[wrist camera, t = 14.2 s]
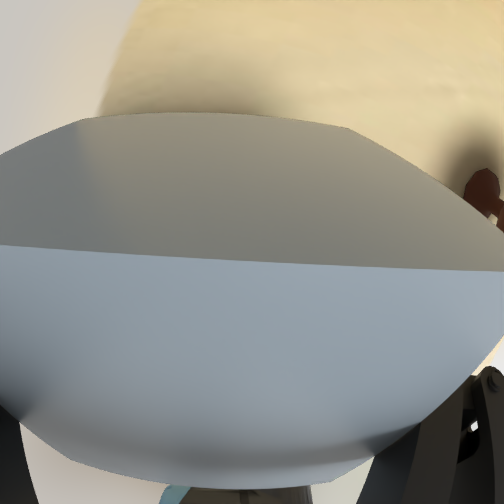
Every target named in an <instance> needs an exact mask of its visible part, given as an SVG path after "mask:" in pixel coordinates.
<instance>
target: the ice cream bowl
mask: <svg viewBox="0 0 504 504" xmlns="http://www.w3.org/2000/svg"><path fill="white" fill-rule="evenodd" d="M499 195H500V186H499V181H498V178H497V177H496V175H495V174H493V173H492V172H491V171H490V170H489V169H487V168H486V169H483V170H480V171H477V172H475V174H474V175H473V177H472V178H471V179H470V181H469V182H468V183H467V185H466V188H465V193H464V197H463V200H465V201H466V202H467V203H469V204H470V205H471V206H472V207H474V208H475V209H476V210H477V211H479V212H480V213H481V214H482V215H484V216H485V217H486V218H488V217H489V216H490V214H491V213H492V214H493V215H495V216H496V217H497V218H498V221H497V224H496V227H498V228H499V229H500V230H501V231H502V232H503V233H504V201H502V200H501V199H500V198H499Z"/></svg>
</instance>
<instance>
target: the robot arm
mask: <svg viewBox="0 0 504 504" xmlns="http://www.w3.org/2000/svg"><path fill="white" fill-rule="evenodd" d="M476 421H477V423H478V428H477V429H476V430H475V431H472V430H471V425H472V424H473V423H474V422H476ZM0 504H39V503H38V499H37V496H36V494H35V491H34V487H33V484H32V481H31V477H30V473H29V469H28V465H27V461H26V457H25V452H24V447H23V442H22V436H21V431H20V424H19V421H18V420H17V419H15V418H14V417H13V416H12V415H11V414H10V413H9V412H8V411H7V410H5V409H4V408H3V407H2V406H1V405H0ZM159 504H313V502H312V494H311V487H310V485H305V486H296V487H286V488H271V489H214V488H199V487H189V486H180V485H172V484H170V485H169V486H167V487H166V489H165V490H164V492H163V494H162V496H161V499H160V502H159ZM356 504H504V376H503V375H502V373H501V372H500V371H499V370H498V369H496V368H495V367H492V366H487V367H485V368H484V369H483V370H482V371H481V372H480V373H479V374H478V375H477V376H474V375H470V376H469V377H468V378H467V379H466V380H465V381H464V382H463V383H462V384H461V385H460V386H459V387H458V388H457V389H456V390H455V391H454V392H453V393H452V394H451V395H450V396H449V397H448V398H447V399H446V400H445V401H444V402H443V403H442V404H441V405H440V406H438V407H437V408H436V409H435V410H434V411H433V412H432V413H431V414H429V415H428V416H427V417H426V418H425V419H424V420H422V421H421V422H420V423H419V424H417V425H416V426H415V427H414V428H412V429H411V430H410V431H409V432H407V433H406V434H405V435H403V436H402V437H401V438H399V439H398V440H397V441H395V442H394V443H393V444H391V445H390V446H388V447H387V448H385V449H384V450H383V451H381V452H380V453H378V454H377V455H375V457H374V459H373V462H372V465H371V468H370V471H369V473H368V476H367V479H366V482H365V484H364V486H363V489H362V491H361V494H360V496H359V498H358V501H357V503H356Z"/></svg>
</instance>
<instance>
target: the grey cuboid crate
mask: <svg viewBox="0 0 504 504" xmlns="http://www.w3.org/2000/svg"><path fill="white" fill-rule="evenodd" d="M503 335H504V233H503V232H502V231H501V230H500V229H499V228H498V227H496V226H495V225H494V224H493V223H492V222H491V221H490V220H488V219H487V218H486V217H485V216H484V215H482V214H481V213H480V212H479V211H477V210H476V209H475V208H474V207H472V206H471V205H470V204H469V203H467V202H466V201H465V200H463V199H462V198H461V197H459V196H458V195H457V194H455V193H454V192H453V191H451V190H450V189H449V188H447V187H446V186H444V185H443V184H442V183H440V182H439V181H437V180H436V179H434V178H433V177H431V176H430V175H428V174H427V173H425V172H424V171H422V170H421V169H419V168H418V167H416V166H414V165H413V164H411V163H410V162H408V161H406V160H405V159H403V158H401V157H400V156H398V155H396V154H395V153H393V152H391V151H390V150H388V149H386V148H384V147H383V146H381V145H379V144H377V143H375V142H374V141H372V140H370V139H368V138H366V137H364V136H362V135H360V134H358V133H356V132H354V131H352V130H350V129H348V128H343V127H338V126H333V125H327V124H321V123H315V122H308V121H302V120H294V119H286V118H278V117H268V116H258V115H245V114H230V113H204V112H167V113H141V114H126V115H114V116H104V117H95V118H87V119H82V120H79V121H76V122H73V123H71V124H68V125H65V126H63V127H60V128H58V129H55V130H53V131H50V132H48V133H45V134H43V135H41V136H39V137H36V138H34V139H32V140H29V141H27V142H25V143H23V144H21V145H19V146H17V147H15V148H13V149H11V150H9V151H7V152H5V153H3V154H1V155H0V405H1V406H2V407H3V408H4V409H5V410H7V411H8V412H9V413H10V414H11V415H12V416H13V417H14V418H15V419H17V420H18V421H19V422H20V423H21V424H23V425H24V426H25V427H26V428H27V429H29V430H30V431H31V432H32V433H34V434H35V435H36V436H37V437H39V438H40V439H41V440H43V441H44V442H45V443H47V444H48V445H50V446H51V447H52V448H54V449H55V450H57V451H58V452H60V453H61V454H63V455H64V456H66V457H67V458H69V459H70V460H73V461H76V462H79V463H82V464H85V465H88V466H91V467H95V468H98V469H101V470H104V471H108V472H112V473H116V474H120V475H124V476H129V477H133V478H137V479H142V480H147V481H153V482H159V483H165V484H172V485H180V486H189V487H199V488H214V489H271V488H286V487H296V486H305V485H313V484H319V483H326V482H331V481H333V480H335V479H336V478H338V477H340V476H342V475H344V474H346V473H347V472H349V471H351V470H353V469H354V468H356V467H358V466H359V465H361V464H363V463H364V462H366V461H367V460H369V459H370V458H372V457H374V456H375V455H377V454H378V453H380V452H381V451H383V450H384V449H385V448H387V447H388V446H390V445H391V444H393V443H394V442H395V441H397V440H398V439H399V438H401V437H402V436H403V435H405V434H406V433H407V432H409V431H410V430H411V429H412V428H414V427H415V426H416V425H417V424H419V423H420V422H421V421H422V420H424V419H425V418H426V417H427V416H428V415H429V414H431V413H432V412H433V411H434V410H435V409H436V408H437V407H438V406H440V405H441V404H442V403H443V402H444V401H445V400H446V399H447V398H448V397H449V396H450V395H451V394H452V393H453V392H454V391H455V390H456V389H457V388H458V387H459V386H460V385H461V384H462V383H463V382H464V381H465V380H466V379H467V378H468V377H469V376H470V375H471V374H472V373H473V372H474V371H475V369H476V368H477V367H478V366H479V365H480V364H481V363H482V361H483V360H484V359H485V358H486V357H487V356H488V354H489V353H490V352H491V351H492V349H493V348H494V347H495V346H496V344H497V343H498V342H499V341H500V339H501V338H502V337H503Z"/></svg>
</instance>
